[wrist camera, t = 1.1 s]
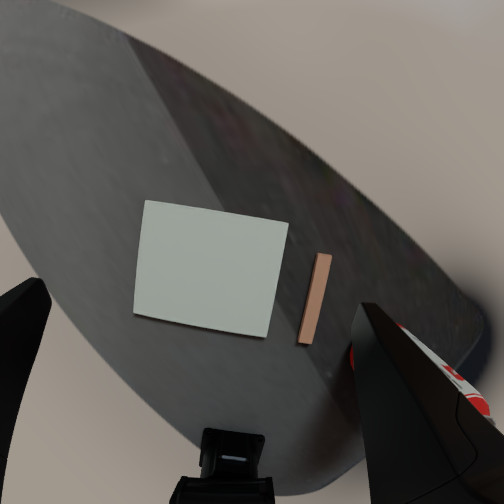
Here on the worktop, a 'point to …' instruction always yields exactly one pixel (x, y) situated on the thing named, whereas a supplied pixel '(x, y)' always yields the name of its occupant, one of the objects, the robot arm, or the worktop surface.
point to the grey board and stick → (216, 270)
